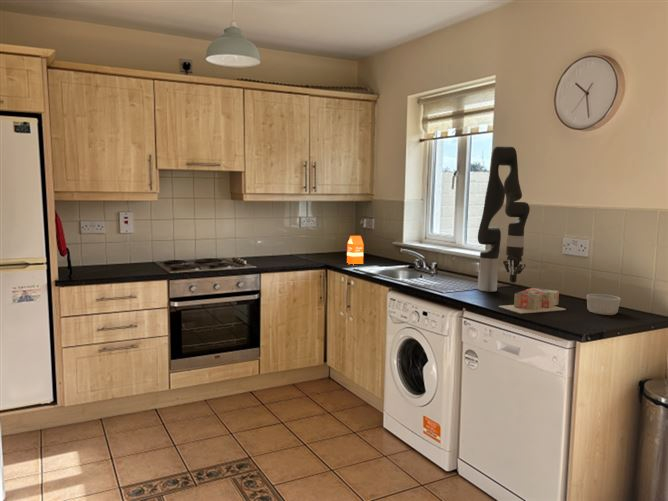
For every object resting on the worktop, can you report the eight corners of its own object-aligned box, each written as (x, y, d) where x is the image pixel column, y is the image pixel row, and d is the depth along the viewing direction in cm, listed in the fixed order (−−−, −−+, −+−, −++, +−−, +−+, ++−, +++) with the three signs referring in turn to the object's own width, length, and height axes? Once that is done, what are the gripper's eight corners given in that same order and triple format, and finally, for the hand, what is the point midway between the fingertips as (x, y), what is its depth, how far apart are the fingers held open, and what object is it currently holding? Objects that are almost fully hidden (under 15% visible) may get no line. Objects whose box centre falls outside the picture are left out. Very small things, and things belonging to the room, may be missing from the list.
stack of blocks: (513, 306, 235) (541, 311, 226) (514, 293, 234) (542, 297, 226) (532, 300, 250) (558, 304, 242) (532, 287, 250) (559, 291, 242)
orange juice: (363, 264, 370) (363, 236, 368) (352, 265, 366) (353, 236, 364) (357, 263, 377) (357, 235, 375) (346, 263, 373) (347, 235, 370)
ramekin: (623, 312, 230) (624, 296, 229) (615, 317, 220) (616, 300, 220) (590, 307, 239) (591, 292, 238) (581, 312, 229) (582, 296, 228)
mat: (498, 306, 236) (498, 305, 236) (542, 303, 245) (542, 302, 245) (520, 313, 223) (520, 312, 223) (565, 309, 232) (566, 309, 232)
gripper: (499, 244, 248) (497, 280, 250) (518, 247, 236) (516, 285, 238) (512, 243, 251) (509, 279, 253) (531, 246, 239) (529, 284, 241)
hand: (512, 282), depth 246 cm, fingers closed
